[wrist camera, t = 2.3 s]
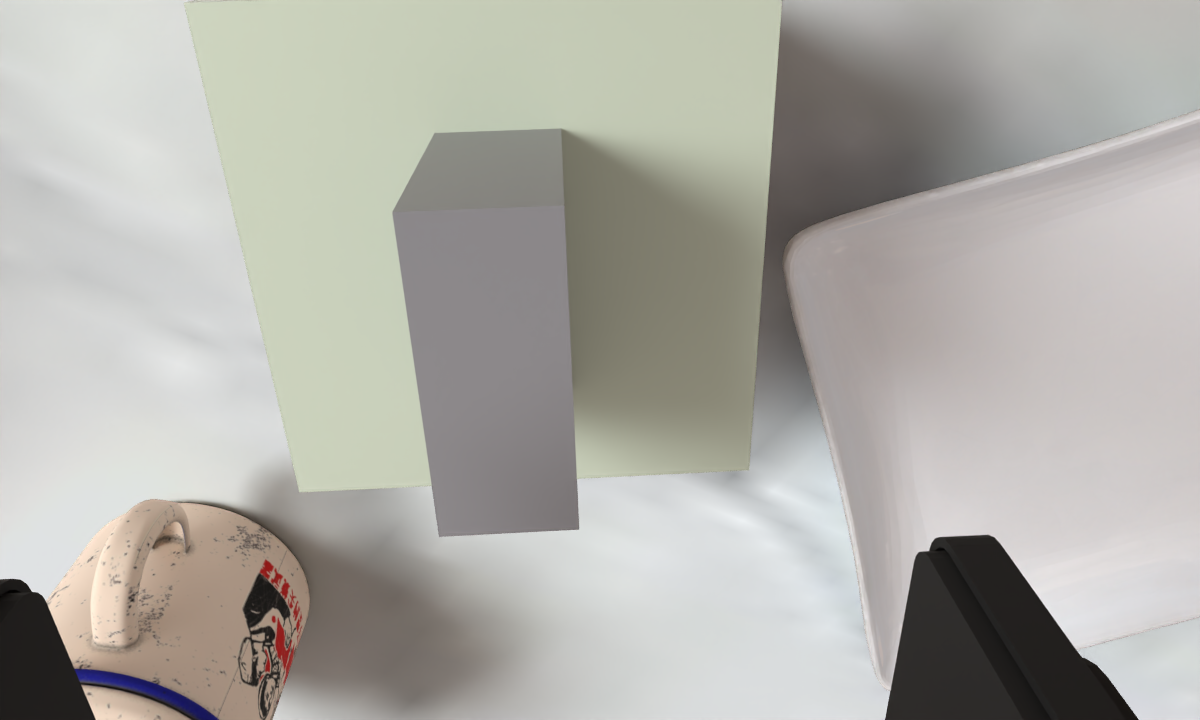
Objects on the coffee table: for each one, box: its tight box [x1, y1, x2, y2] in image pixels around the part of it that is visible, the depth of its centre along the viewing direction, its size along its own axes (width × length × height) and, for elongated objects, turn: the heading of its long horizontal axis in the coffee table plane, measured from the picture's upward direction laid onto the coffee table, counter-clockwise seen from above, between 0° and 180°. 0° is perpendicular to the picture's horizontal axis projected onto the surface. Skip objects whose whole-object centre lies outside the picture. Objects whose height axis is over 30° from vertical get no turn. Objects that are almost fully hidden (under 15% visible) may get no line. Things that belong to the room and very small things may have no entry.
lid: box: [184, 0, 782, 537], centre depth 16 cm, size 11×11×6 cm
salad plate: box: [782, 109, 1200, 691], centre depth 30 cm, size 21×21×3 cm
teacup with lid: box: [46, 499, 310, 720], centre depth 28 cm, size 12×9×12 cm
